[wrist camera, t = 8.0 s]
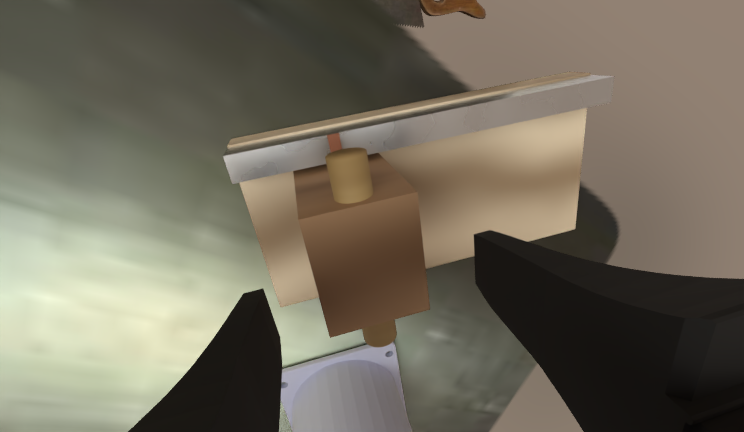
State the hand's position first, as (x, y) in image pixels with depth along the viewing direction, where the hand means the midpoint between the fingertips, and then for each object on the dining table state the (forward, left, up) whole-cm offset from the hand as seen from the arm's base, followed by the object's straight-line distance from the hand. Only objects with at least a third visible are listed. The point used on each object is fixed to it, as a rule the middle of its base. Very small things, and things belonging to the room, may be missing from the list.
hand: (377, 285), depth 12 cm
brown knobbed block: (0, 0, -7) cm, 7 cm away
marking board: (0, -5, -8) cm, 10 cm away
